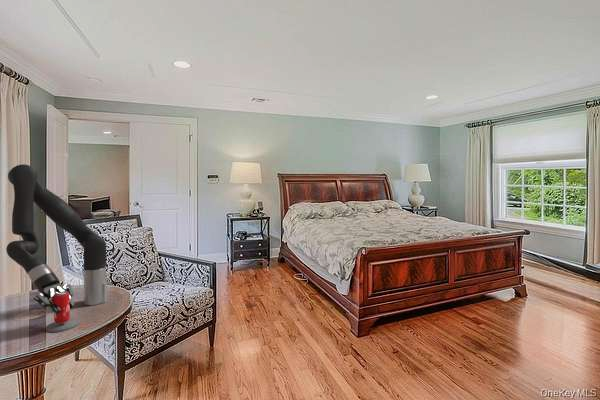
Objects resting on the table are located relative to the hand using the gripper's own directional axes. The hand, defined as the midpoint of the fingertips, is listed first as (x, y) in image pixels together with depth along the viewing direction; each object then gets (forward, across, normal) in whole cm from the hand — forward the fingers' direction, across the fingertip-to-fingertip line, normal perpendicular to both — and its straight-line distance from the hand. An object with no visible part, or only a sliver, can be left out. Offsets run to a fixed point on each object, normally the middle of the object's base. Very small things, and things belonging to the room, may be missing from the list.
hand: (65, 309), depth 128 cm
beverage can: (+2, 0, +5) cm, 6 cm away
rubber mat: (+4, 0, +6) cm, 7 cm away
